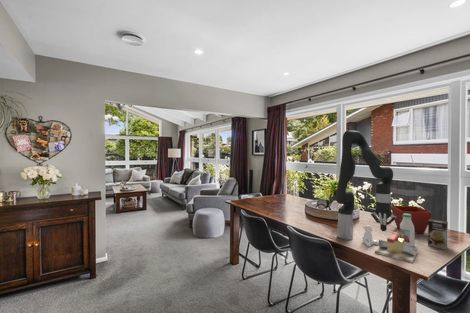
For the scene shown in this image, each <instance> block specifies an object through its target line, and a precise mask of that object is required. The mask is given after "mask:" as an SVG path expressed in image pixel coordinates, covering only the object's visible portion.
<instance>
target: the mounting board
mask: <svg viewBox="0 0 470 313" xmlns="http://www.w3.org/2000/svg"><path fill="white" fill-rule="evenodd" d="M374 254H378V255H382V256H386V257H388V258H391V259H395V258H396V260H399V259H400V261H403V262H407V263H410V264H413V263H414V261H415V259H416V257H417V256H418V255H419V253H418V251H417V250H415V253H414V256H413V255H409V254H405V253H403V254H398V253H394V252H390V251H387V249H385V248H381V247H379V246H377V247H376V248H375V250H374Z"/></svg>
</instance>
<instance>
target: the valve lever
mask: <svg viewBox="0 0 470 313" xmlns="http://www.w3.org/2000/svg"><path fill="white" fill-rule="evenodd" d="M398 238H400V232H395V231H394V232H392V233H391V235H390V236H387V238H386V239H387V240H386V241H387V242H390V243H394V242H395V240H396V239H398Z"/></svg>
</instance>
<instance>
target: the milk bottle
mask: <svg viewBox="0 0 470 313" xmlns="http://www.w3.org/2000/svg"><path fill="white" fill-rule="evenodd" d="M399 234H400V237H399V238H401V239H404V245H405V246H410V247H414V248H415V241H416V240H415V239H416V238H415V236H416V235H415V234H416V233H415V231H414V225H413V223H412V221H411V214H406V213H404V214H403V220H402V222H401V224H400V229H399Z"/></svg>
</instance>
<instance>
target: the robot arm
mask: <svg viewBox="0 0 470 313" xmlns="http://www.w3.org/2000/svg"><path fill="white" fill-rule="evenodd" d="M341 142H342V143H341V144H342V146H341V149H342V150H341V159H340V160H341V161H340V166H339V167H340V169H339V177H338V181H337V182H338V183H337V186H336V192H335V200H336V202H337V204H340V205H341V206H339V207H338V209H337V210H338V211H337V213H338V215H337V216H338V217H337V218H338V219H337V220H338V222H337V223H336V224H337V225H336V233H337V234H336V235H337V236H336V237H338V238H339V239H342V240H346V241H348V240H353V238H354V237H353V236H354V229H353V228H354V219H353V218H354V217H353V216H354V215H353V213H354V211H355V210H354V209H355V194H354V193H353V191H352V190H349V189H348V190H347V188H348V185H349V183H350V182H351V180H352V178H353V177H354V175H355V172H356V161H355V158H354V156H353V153H352V146H353V145H356V146H357V147H358V148H360V151H361V157H362V159H363V160H364V162H365V163H366V164H367V166H368V167H369V170H370V172H371V174H372V176H373V177H374V178H375V179H376V180H380V181H379V182H378V183H376V184H375V209H374V212H371V213H370V215H371V217H372V218H373V219H374V221H375V222H376V223H378V224H379V226H380V227H379V228H380V230H381V232H386V231H388V230H387V229H388V227H387V225H388V226H389V225H390V224H392V223H393V222H395V219H396V218H397V217H396V216H394V215H393V213H392V209H391V206H392V196H391V185H392V182H393V178H394V171H393V169H392V168H391V167H390V166H380V165H381V164H382V161H381V159H380V158H379V157H378V155H377V154H376V153H375V152H374V151H373V150H372V148H371V147H370V145H369V143H368V141H367V140H366V138H365V137H364V135H363V134H362V132H361V131H359V130H345V131H344V133H343V135H342V141H341ZM389 218H390V219H389ZM388 220H389V221H388Z"/></svg>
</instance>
